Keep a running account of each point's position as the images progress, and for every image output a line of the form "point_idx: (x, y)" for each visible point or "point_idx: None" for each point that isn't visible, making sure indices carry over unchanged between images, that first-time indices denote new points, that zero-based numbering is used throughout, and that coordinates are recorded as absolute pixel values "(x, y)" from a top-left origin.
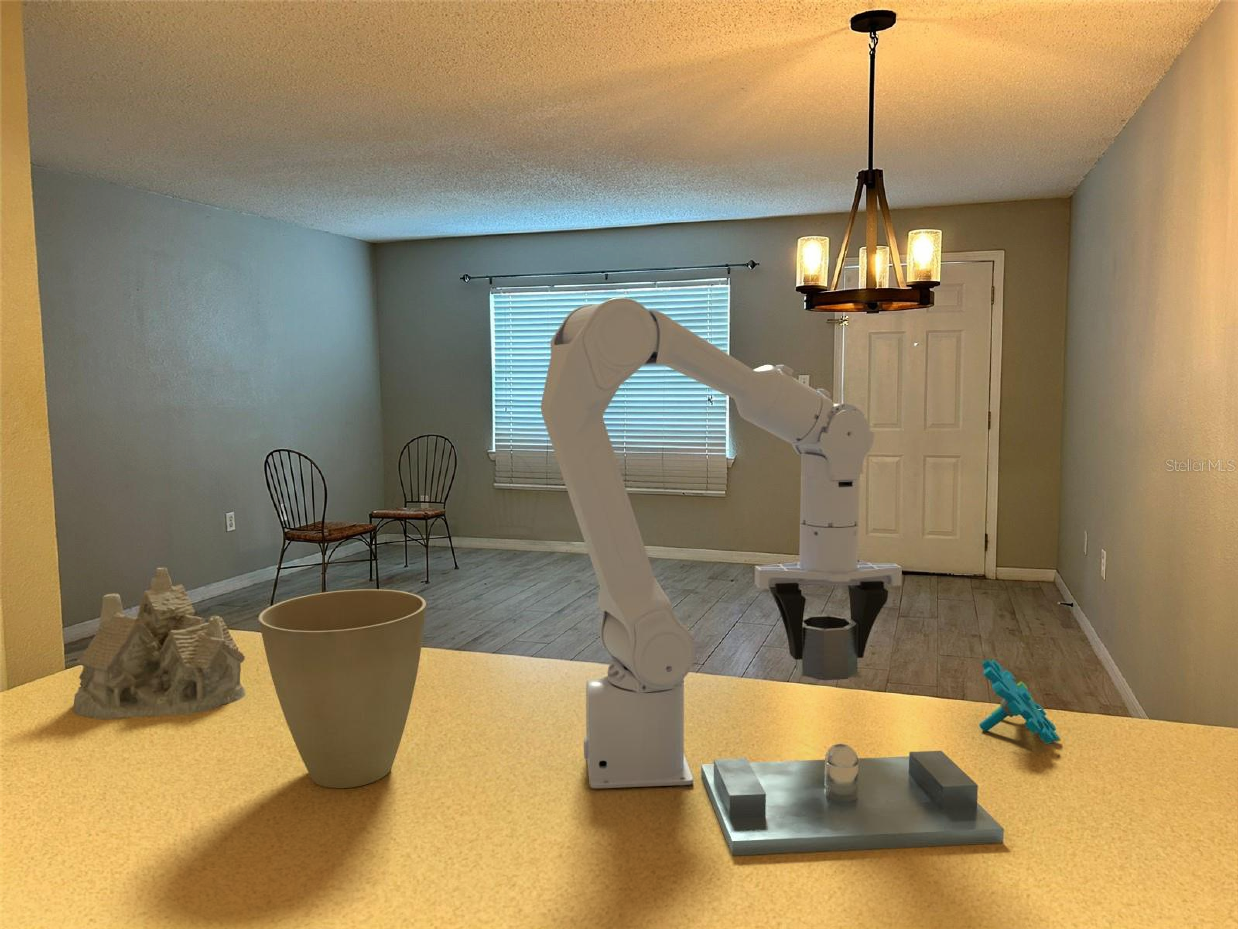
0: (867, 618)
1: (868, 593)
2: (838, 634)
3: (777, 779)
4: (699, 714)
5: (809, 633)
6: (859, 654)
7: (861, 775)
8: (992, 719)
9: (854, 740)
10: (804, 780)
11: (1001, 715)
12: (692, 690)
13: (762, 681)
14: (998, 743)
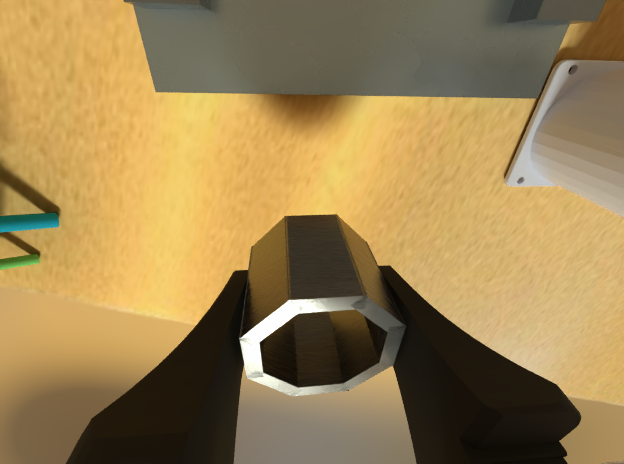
0: (204, 348)
1: (174, 454)
2: (315, 287)
3: (458, 14)
4: (423, 278)
5: (387, 304)
6: (242, 274)
7: (304, 12)
8: (26, 218)
9: (259, 199)
10: (415, 2)
11: (2, 217)
12: None
13: None
14: (33, 173)
